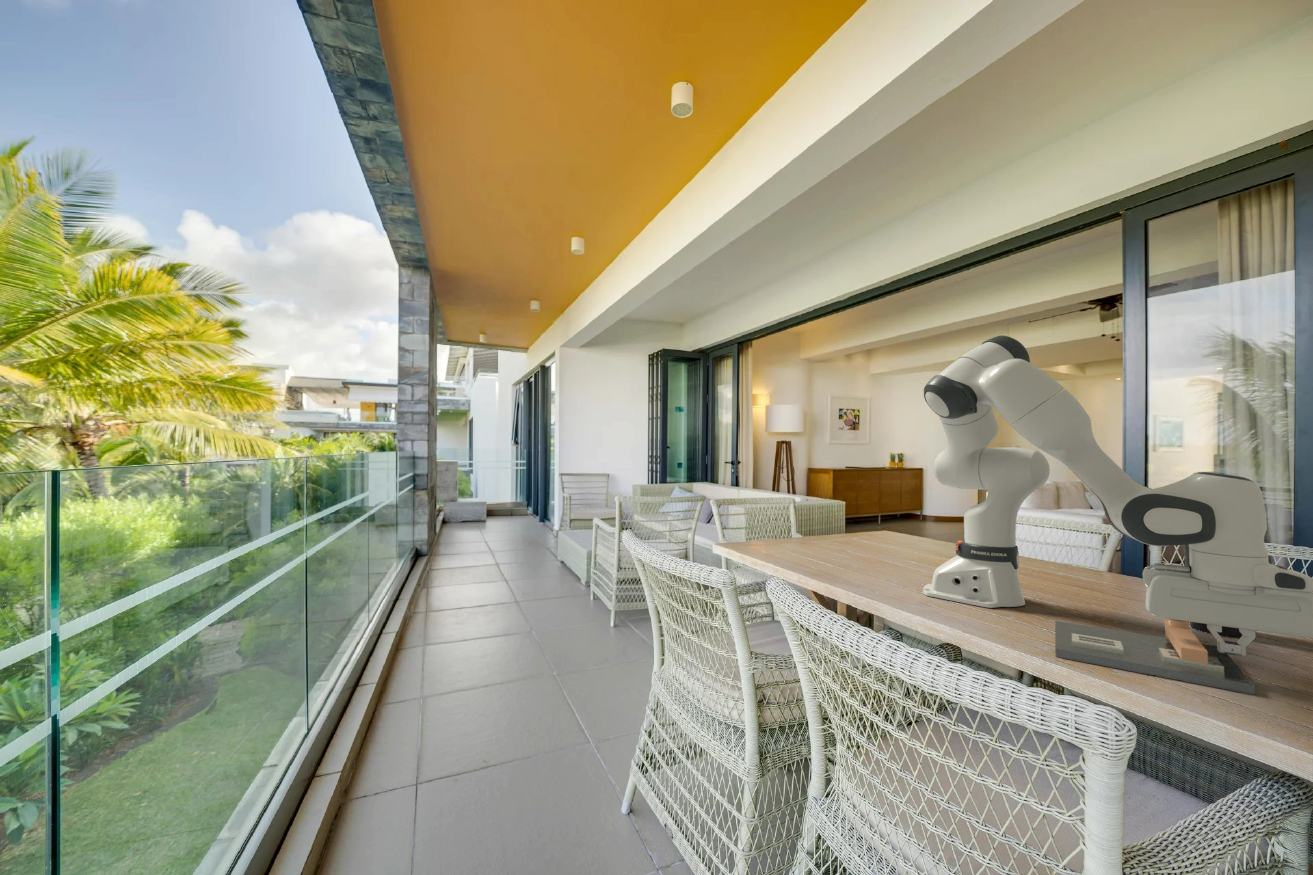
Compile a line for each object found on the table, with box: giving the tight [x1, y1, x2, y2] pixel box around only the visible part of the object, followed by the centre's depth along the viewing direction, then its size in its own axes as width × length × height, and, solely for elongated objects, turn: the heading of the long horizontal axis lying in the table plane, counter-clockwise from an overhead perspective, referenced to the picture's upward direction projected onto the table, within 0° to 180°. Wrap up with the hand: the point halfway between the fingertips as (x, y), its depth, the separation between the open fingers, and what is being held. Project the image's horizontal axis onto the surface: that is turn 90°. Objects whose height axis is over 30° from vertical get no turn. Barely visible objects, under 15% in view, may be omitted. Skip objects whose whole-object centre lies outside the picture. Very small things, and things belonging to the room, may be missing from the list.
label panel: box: [1054, 620, 1256, 696], centre depth 93 cm, size 24×20×3 cm
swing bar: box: [1164, 618, 1208, 664], centre depth 89 cm, size 17×3×5 cm, turn 142°
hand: (1231, 653), depth 84 cm, fingers closed
